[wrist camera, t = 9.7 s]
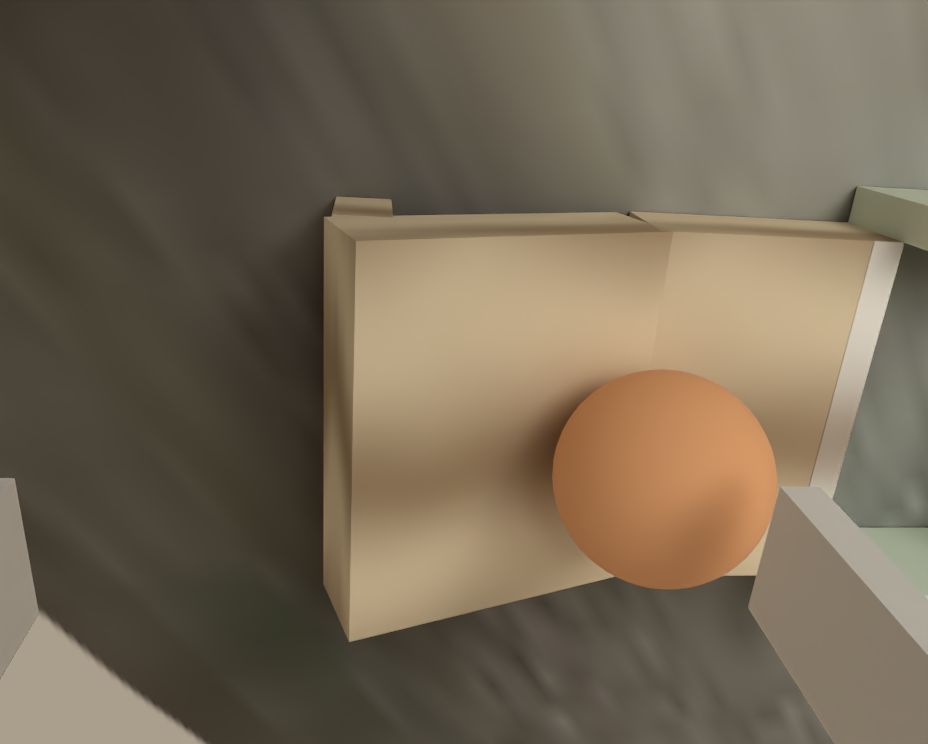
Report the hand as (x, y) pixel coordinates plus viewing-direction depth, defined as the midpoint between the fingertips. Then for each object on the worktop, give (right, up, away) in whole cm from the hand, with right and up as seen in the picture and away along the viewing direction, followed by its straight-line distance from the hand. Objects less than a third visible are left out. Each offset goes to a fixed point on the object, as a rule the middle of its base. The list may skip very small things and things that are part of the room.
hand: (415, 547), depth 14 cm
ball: (+4, 0, +2) cm, 5 cm away
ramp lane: (+4, +3, +9) cm, 10 cm away
